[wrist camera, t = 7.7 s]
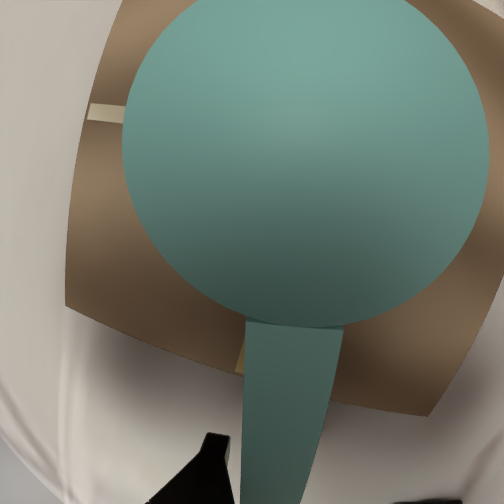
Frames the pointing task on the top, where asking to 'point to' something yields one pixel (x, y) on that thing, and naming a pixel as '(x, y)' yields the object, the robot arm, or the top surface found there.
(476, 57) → the brown wooden flat board
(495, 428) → the top surface
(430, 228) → the teal scoop
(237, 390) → the top surface
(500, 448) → the top surface
